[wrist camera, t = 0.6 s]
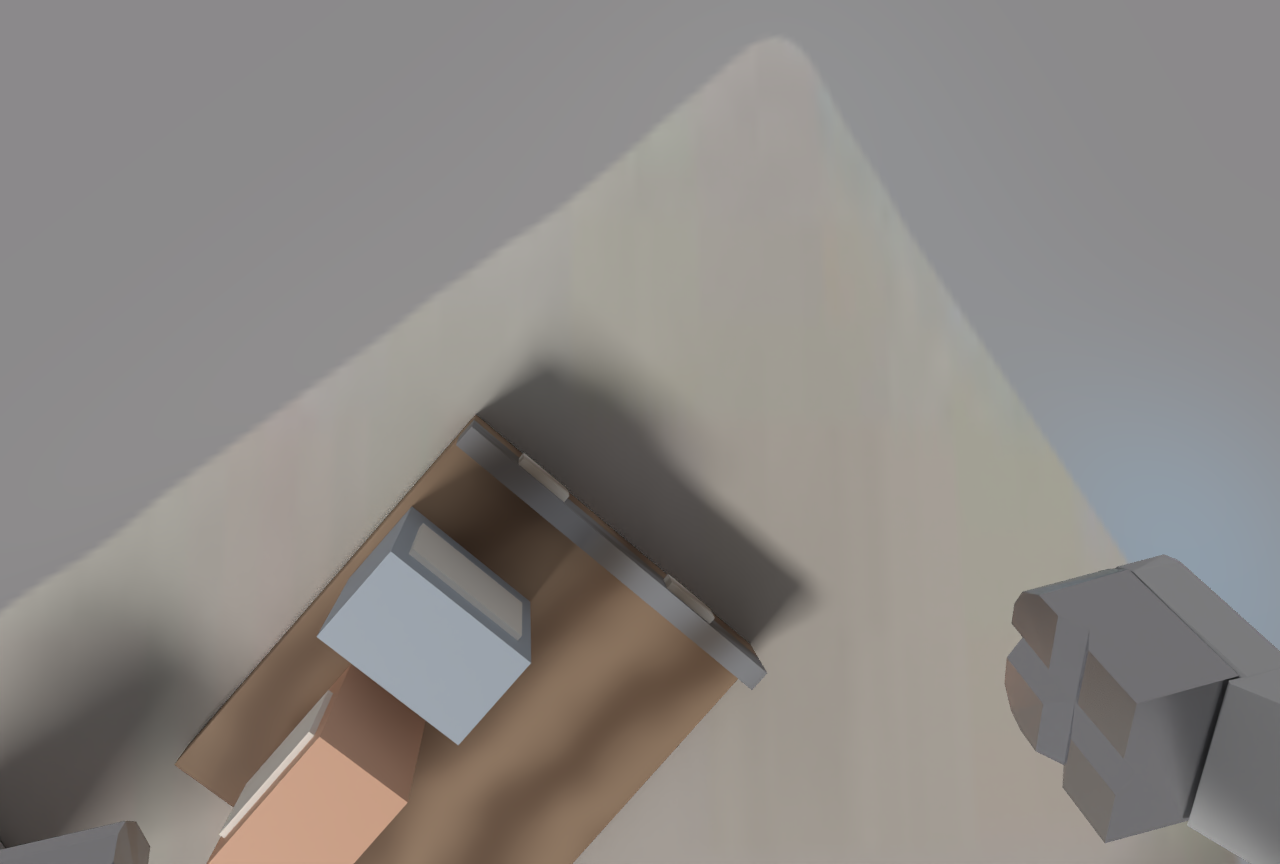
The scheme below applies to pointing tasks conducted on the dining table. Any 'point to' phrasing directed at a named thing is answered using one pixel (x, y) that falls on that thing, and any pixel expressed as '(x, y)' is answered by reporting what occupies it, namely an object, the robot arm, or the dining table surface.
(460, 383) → the dining table surface
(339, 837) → the terracotta carton
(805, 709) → the dining table surface
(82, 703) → the dining table surface
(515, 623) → the slate-blue carton
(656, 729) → the shelf plank
